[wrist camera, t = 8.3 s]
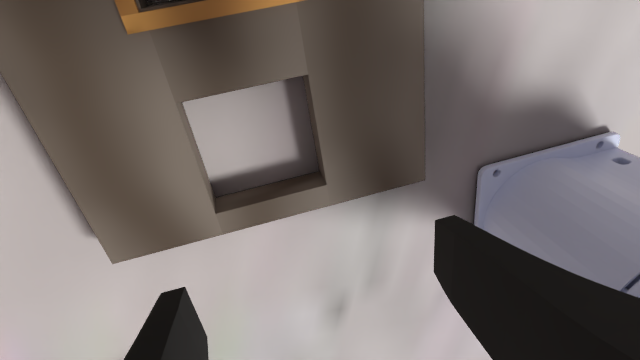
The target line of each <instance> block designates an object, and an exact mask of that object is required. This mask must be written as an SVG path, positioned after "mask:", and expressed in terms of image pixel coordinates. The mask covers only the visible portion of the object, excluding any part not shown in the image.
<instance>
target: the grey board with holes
mask: <svg viewBox="0 0 640 360" xmlns="http://www.w3.org/2000/svg"><path fill="white" fill-rule="evenodd" d="M0 73H1V74H2V76H3V78H4V80H5V81H6V83H7V85H8V86H9V88H10V90H11V91H12V93H13V95H14V97H15V98H16V100H17V102H18V103H19V105H20V107H21V109H22V110H23V112H24V114H25V115H26V117H27V119H28V121H29V122H30V124H31V126H32V127H33V129H34V131H35V133H36V134H37V136H38V138H39V139H40V141H41V143H42V144H43V146H44V148H45V150H46V151H47V153H48V155H49V156H50V158H51V160H52V162H53V163H54V165H55V167H56V168H57V170H58V172H59V174H60V175H61V177H62V179H63V180H64V182H65V184H66V185H67V187H68V189H69V191H70V192H71V194H72V196H73V197H74V199H75V201H76V203H77V204H78V206H79V208H80V209H81V211H82V213H83V215H84V216H85V218H86V220H87V221H88V223H89V225H90V226H91V228H92V230H93V232H94V233H95V235H96V237H97V238H98V240H99V242H100V244H101V245H102V247H103V249H104V250H105V252H106V254H107V256H108V257H109V259H110V261H111V262H112V264H115V263H119V262H122V261H126V260H130V259H133V258H137V257H141V256H145V255H148V254H152V253H156V252H159V251H163V250H167V249H171V248H174V247H178V246H182V245H185V244H189V243H193V242H197V241H200V240H204V239H208V238H211V237H215V236H219V235H223V234H226V233H230V232H234V231H238V230H241V229H245V228H249V227H252V226H256V225H260V224H264V223H267V222H271V221H275V220H278V219H282V218H286V217H290V216H293V215H297V214H301V213H304V212H308V211H312V210H316V209H319V208H323V207H327V206H330V205H334V204H338V203H342V202H345V201H349V200H353V199H356V198H360V197H364V196H368V195H371V194H375V193H379V192H382V191H386V190H390V189H394V188H397V187H401V186H405V185H409V184H412V183H416V182H420V181H423V180H425V107H424V0H177V1H171V2H166V3H160V4H155V5H150V6H148V5H147V2H146V0H0ZM299 76H303V80H304V86H305V91H306V97H307V103H308V109H309V114H310V120H311V126H312V131H313V137H314V143H315V148H316V154H317V160H318V166H319V172H315V173H311V174H307V175H303V176H299V177H295V178H291V179H287V180H284V181H280V182H276V183H272V184H268V185H264V186H260V187H256V188H252V189H248V190H244V191H240V192H237V193H233V194H229V195H225V196H221V197H217V198H215V195H214V192H213V189H212V187H211V184H210V181H209V178H208V175H207V172H206V170H205V167H204V164H203V161H202V158H201V155H200V153H199V150H198V147H197V144H196V141H195V138H194V136H193V133H192V130H191V127H190V124H189V121H188V119H187V116H186V113H185V110H184V107H183V104H182V102H185V101H189V100H194V99H198V98H203V97H207V96H212V95H217V94H221V93H226V92H230V91H235V90H239V89H244V88H249V87H253V86H258V85H262V84H267V83H271V82H276V81H280V80H285V79H290V78H294V77H299Z"/></svg>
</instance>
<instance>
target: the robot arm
mask: <svg viewBox="0 0 640 360" xmlns="http://www.w3.org/2000/svg"><path fill="white" fill-rule="evenodd" d="M619 141H620V135H619V134H618V133H615V132H608V133H605V134H601V135H597V136H593V137H590V138H586V139H582V140H579V141H575V142H571V143H567V144H564V145H560V146H556V147H553V148H549V149H545V150H541V151H538V152H534V153H530V154H527V155H523V156H519V157H516V158H512V159H508V160H504V161H501V162H497V163H493V164H490V165H486V166H484V167H482V168H481V169H480V171H479V172H478V179H477V193H476V206H475V220H474V225H473V224H471V223H469V222H467V221H465V220H463V219H461V218H459V217H457V216H455V215H453V216H449V217H446V218H442V219H438V220H435V246H434V273H435V275H436V277H437V279H438V281H439V282H440V284H441V286H442V288H443V290H444V291H445V293H446V295H447V297H448V298H449V300H450V302H451V303H452V305H453V306H454V308H455V309H456V310H457V312H458V313H459V315H460V316H461V317H462V319H463V320H464V321H465V323H466V324H467V326H468V327H469V328H470V330H471V331H472V332H473V334H474V335H475V336H476V338H477V339H478V340H479V342H480V343H481V345H482V346H483V347H484V349H485V350H486V351H487V353H488V354H489V355H490V357H491V358H492V359H493V360H640V157H637V156H635V155H633V154H630V153H628V152H626V151H623V150H621V149H619V148H618V145H619ZM495 170H496V172H495V173H494V174H493V172H494V171H495ZM124 360H208V344H207V336H206V333H205V331H204V329H203V326H202V324H201V322H200V320H199V317H198V315H197V313H196V311H195V308H194V306H193V304H192V302H191V299H190V297H189V295H188V293H187V290H186V288H185V287H182V288H179V289H175V290H171V291H167V292H164V293H161V295H160V296H159V298H158V300H157V301H156V303H155V305H154V307H153V309H152V310H151V312H150V314H149V316H148V318H147V320H146V321H145V323H144V325H143V327H142V329H141V330H140V332H139V334H138V336H137V338H136V339H135V341H134V343H133V345H132V346H131V348H130V350H129V351H128V353H127V355H126V357H125V358H124Z"/></svg>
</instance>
